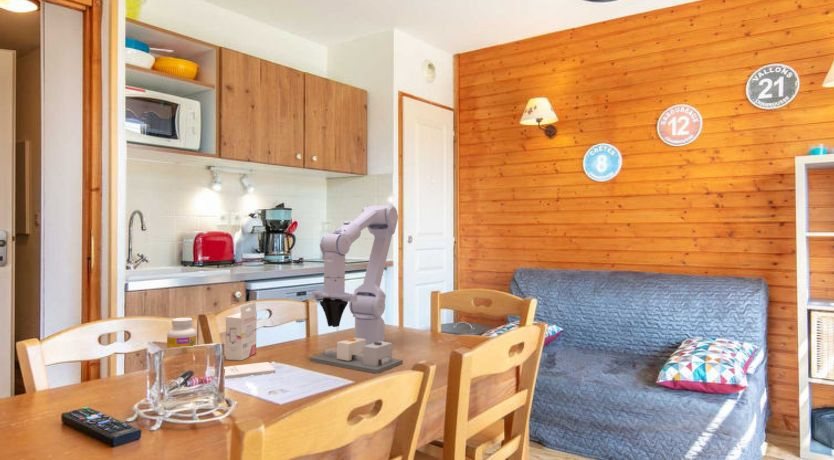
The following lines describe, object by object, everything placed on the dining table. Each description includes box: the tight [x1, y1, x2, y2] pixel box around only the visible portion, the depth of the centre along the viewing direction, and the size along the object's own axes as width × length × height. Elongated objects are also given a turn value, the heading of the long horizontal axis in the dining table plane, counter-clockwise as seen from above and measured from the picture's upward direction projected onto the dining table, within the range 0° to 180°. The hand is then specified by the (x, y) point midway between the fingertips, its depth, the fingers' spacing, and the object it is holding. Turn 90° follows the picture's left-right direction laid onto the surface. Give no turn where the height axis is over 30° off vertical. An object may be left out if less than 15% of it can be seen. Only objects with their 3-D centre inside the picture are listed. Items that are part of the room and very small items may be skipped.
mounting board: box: [309, 352, 404, 375], centre depth 146 cm, size 12×22×1 cm, turn 59°
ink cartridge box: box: [225, 302, 258, 361], centre depth 150 cm, size 9×5×15 cm, turn 168°
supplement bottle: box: [166, 317, 197, 348], centre depth 136 cm, size 7×7×13 cm
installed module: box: [363, 341, 393, 367], centre depth 143 cm, size 8×4×5 cm, turn 149°
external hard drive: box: [223, 361, 276, 380], centre depth 135 cm, size 2×8×12 cm
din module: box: [336, 337, 366, 361], centre depth 147 cm, size 8×4×5 cm, turn 149°
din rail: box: [324, 347, 389, 365], centre depth 146 cm, size 4×19×2 cm, turn 59°
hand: (333, 326), depth 150 cm, fingers closed
